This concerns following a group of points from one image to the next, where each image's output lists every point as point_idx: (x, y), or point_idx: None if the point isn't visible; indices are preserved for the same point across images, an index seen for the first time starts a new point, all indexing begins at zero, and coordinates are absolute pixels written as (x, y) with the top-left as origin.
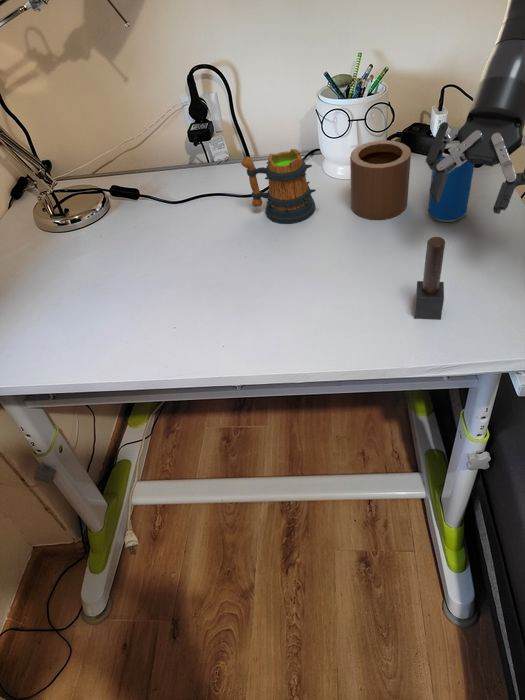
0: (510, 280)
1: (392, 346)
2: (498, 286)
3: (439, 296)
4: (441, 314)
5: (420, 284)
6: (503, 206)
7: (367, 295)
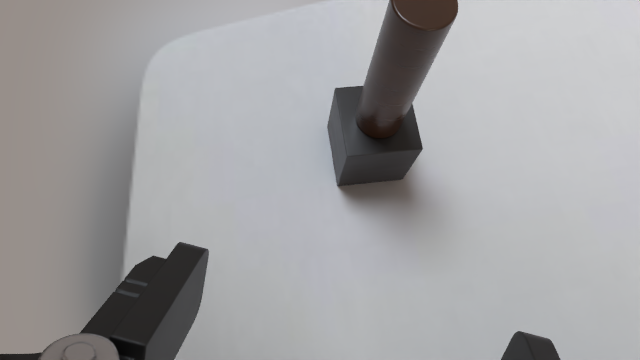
0: None
1: None
2: None
3: (348, 92)
4: (329, 117)
5: (410, 135)
6: (154, 258)
7: (531, 185)
